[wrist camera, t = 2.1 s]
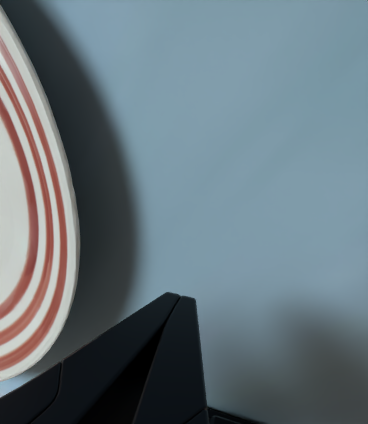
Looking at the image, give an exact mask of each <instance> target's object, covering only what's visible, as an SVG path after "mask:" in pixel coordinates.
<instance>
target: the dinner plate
mask: <svg viewBox="0 0 368 424" xmlns="http://www.w3.org/2000/svg"><path fill="white" fill-rule="evenodd" d="M79 260H80V228H79V219H78V211H77V204H76V197H75V191H74V188H73V185H72V177H71V172H70V168H69V164H68V160H67V156H66V153H65V150H64V146H63V143H62V140H61V136H60V133H59V130H58V127H57V124H56V122H55V119H54V116H53V113H52V110H51V107H50V104H49V101H48V98H47V96H46V94H45V91H44V89H43V87H42V84H41V82H40V80H39V78H38V75H37V73H36V71H35V68H34V66H33V64H32V62H31V60H30V58H29V56H28V54H27V52H26V50H25V48H24V46H23V44H22V42H21V40H20V39H19V37H18V35H17V33H16V31H15V29H14V28H13V26H12V24H11V22H10V20H9V19H8V17H7V15H6V13H5V11H4V10H3V8H2V6H1V5H0V382H1V381H5V380H7V379H10V378H13V377H15V376H17V375H19V374H21V373H23V372H25V371H26V370H28V369H29V368H31V367H32V366H33V365H34V364H36V363H37V362H38V361H39V360H40V359H41V358H42V357H43V356H44V355H45V354H46V353H47V352H48V351H49V350H50V348H51V347H52V345H53V344H54V343H55V341H56V339H57V338H58V337H59V335H60V333H61V332H62V330H63V327H64V325H65V323H66V320H67V318H68V315H69V313H70V310H71V306H72V303H73V300H74V296H75V291H76V286H77V281H78V272H79Z"/></svg>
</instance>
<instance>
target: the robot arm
mask: <svg viewBox="0 0 368 424" xmlns="http://www.w3.org/2000/svg"><path fill="white" fill-rule="evenodd" d="M0 424H254V423H251V422H248V421H245V420H241V419H238V418H235V417H232V416H229V415H226V414H223V413H220V412H217V411H214V410H211V409H208V408H207V400H206V391H205V381H204V372H203V363H202V353H201V344H200V334H199V325H198V316H197V306H196V300H195V298H191V297H187V296H180V295H179V294H175V293H171V292H166V293H164V294H163V295H161V296H160V297H158V298H157V299H155V300H154V301H152V302H150V303H149V304H147V305H146V306H144V307H143V308H141V309H140V310H138V311H137V312H135V313H134V314H132V315H131V316H129V317H127V318H126V319H124V320H123V321H121V322H120V323H118V324H117V325H115V326H114V327H112V328H111V329H109V330H107V331H106V332H104V333H103V334H101V335H100V336H98V337H97V338H95V339H94V340H92V341H91V342H89V343H88V344H86V345H84V346H83V347H81V348H80V349H78V350H77V351H75V352H74V353H72V354H71V355H69V356H68V357H66V358H64V359H63V360H62V363H61V362H58V363H57V364H55V365H53V366H52V367H50V368H49V369H47V370H46V371H44V372H43V373H41V374H39V375H38V376H36V377H35V378H33V379H31V380H30V381H28V382H27V383H25V384H23V385H22V386H20V387H18V388H17V389H15V390H13V391H11V392H9V393H8V394H6V395H4V396H2V397H1V398H0Z"/></svg>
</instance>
